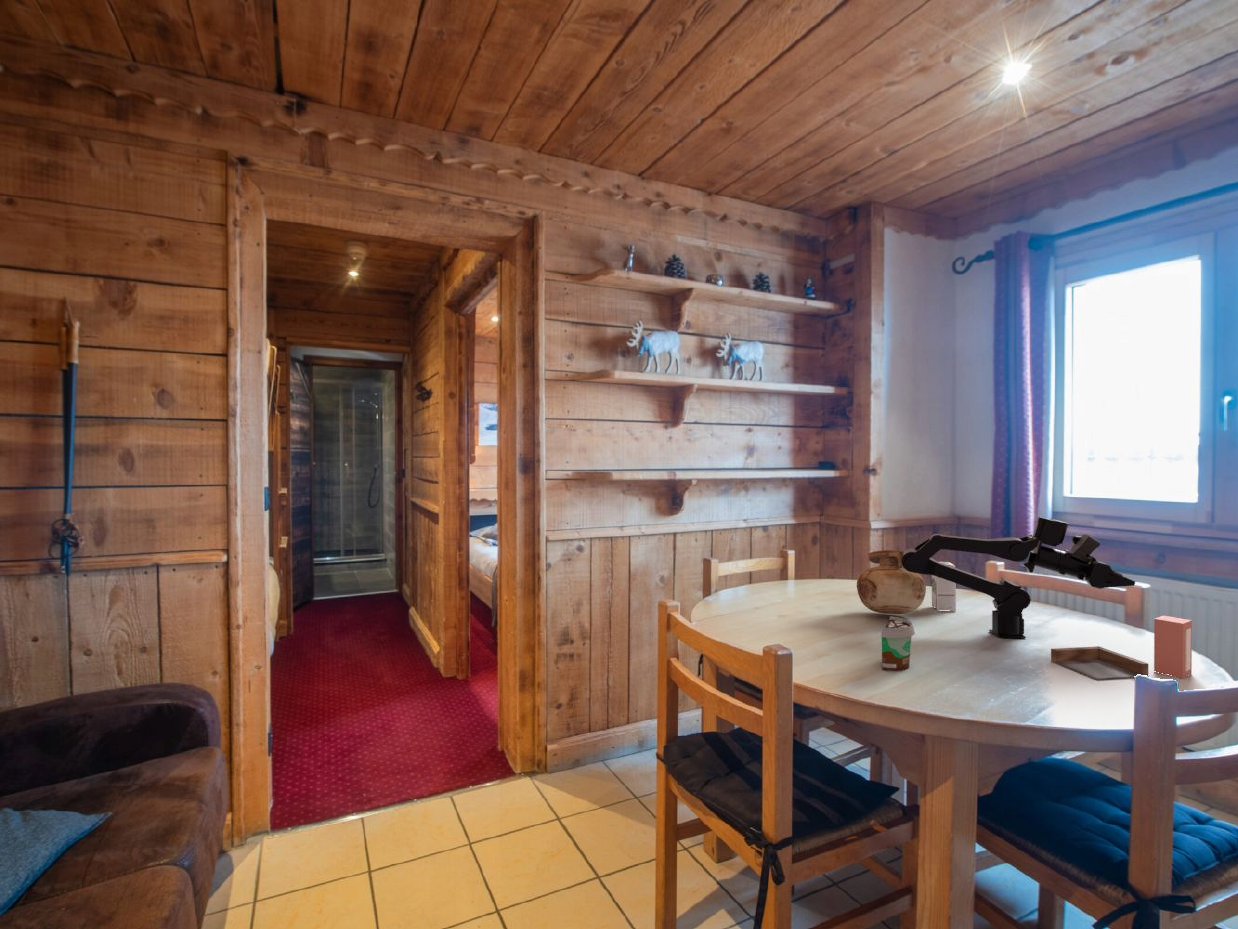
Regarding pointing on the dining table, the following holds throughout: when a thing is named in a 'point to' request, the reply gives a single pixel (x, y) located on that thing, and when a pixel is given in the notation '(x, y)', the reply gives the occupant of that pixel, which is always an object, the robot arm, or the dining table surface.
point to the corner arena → (1098, 663)
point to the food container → (896, 644)
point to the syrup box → (943, 592)
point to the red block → (1173, 646)
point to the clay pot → (890, 585)
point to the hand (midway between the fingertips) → (1128, 580)
